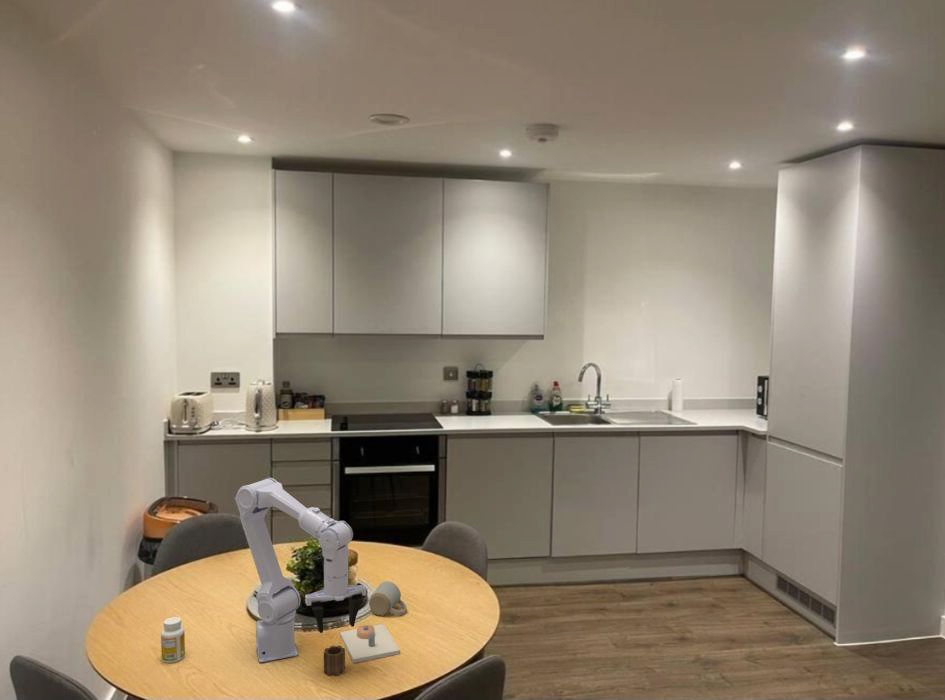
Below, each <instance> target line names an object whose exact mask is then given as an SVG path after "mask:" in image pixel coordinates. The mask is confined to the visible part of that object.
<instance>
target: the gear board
mask: <svg viewBox="0 0 945 700" xmlns="http://www.w3.org/2000/svg"><path fill="white" fill-rule="evenodd" d="M339 637H340V639H341V641H342V643H343V645H344V648H345V650H346V652H347V653H348V655H349V657H350V660H351V661H352V664H356V663H362V662H367V661H371V660H376V659H382V658H386V657H391V656H396V655H400V654H401V652H400V651H401V650H400V648H399V647H398V645H397V643H396V642H395V640H394V639H393V637H392V635H391V634H390V633H389V631H388V629H387V627H385V624H384V623H383V624H377V625H370V624H365V625H364V624H363V625H360V626H359V627H357V628H354V629H350V630H345V631H340V632H339Z"/></svg>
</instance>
